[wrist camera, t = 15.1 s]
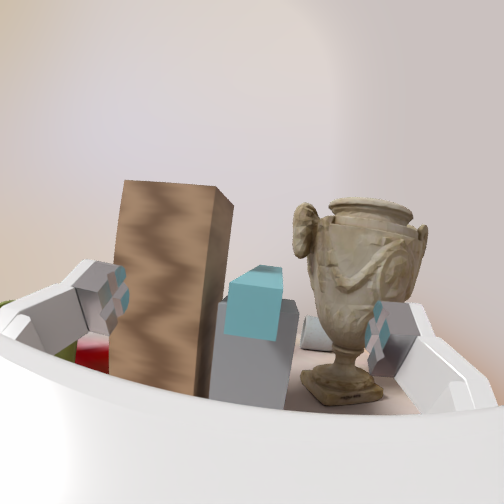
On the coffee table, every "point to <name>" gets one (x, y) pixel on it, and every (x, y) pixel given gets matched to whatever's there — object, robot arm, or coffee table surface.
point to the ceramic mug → (314, 335)
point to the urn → (354, 282)
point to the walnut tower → (170, 283)
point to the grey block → (253, 362)
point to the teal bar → (255, 303)
